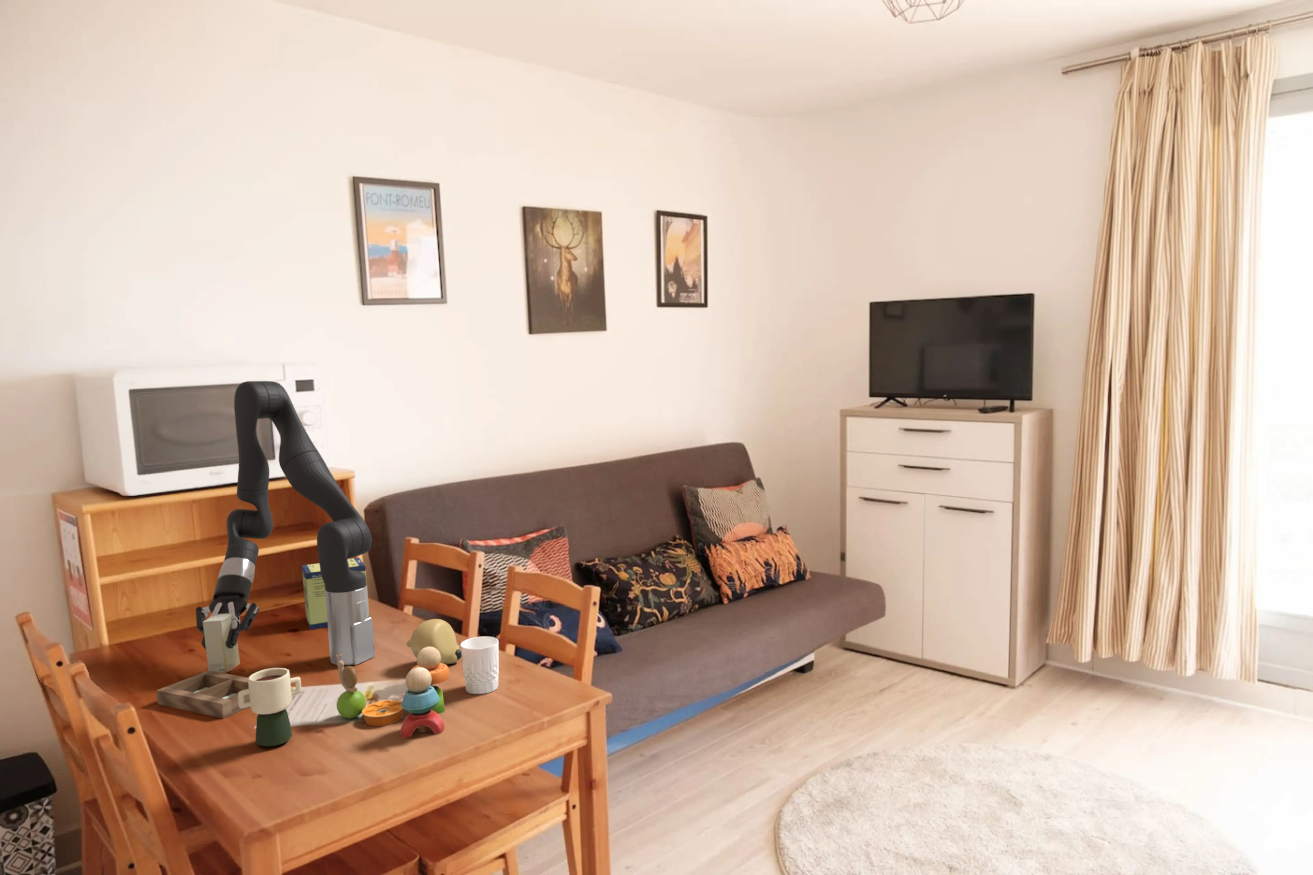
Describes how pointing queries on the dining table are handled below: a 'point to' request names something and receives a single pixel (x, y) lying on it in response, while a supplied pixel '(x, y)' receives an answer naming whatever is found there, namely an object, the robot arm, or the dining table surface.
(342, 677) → the snail figurine
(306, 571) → the protein box
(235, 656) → the skincare box
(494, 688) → the white cup
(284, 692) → the character mug
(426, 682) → the wooden stacking toy
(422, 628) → the beige animal figurine
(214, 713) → the wooden compartment tray
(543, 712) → the dining table surface
